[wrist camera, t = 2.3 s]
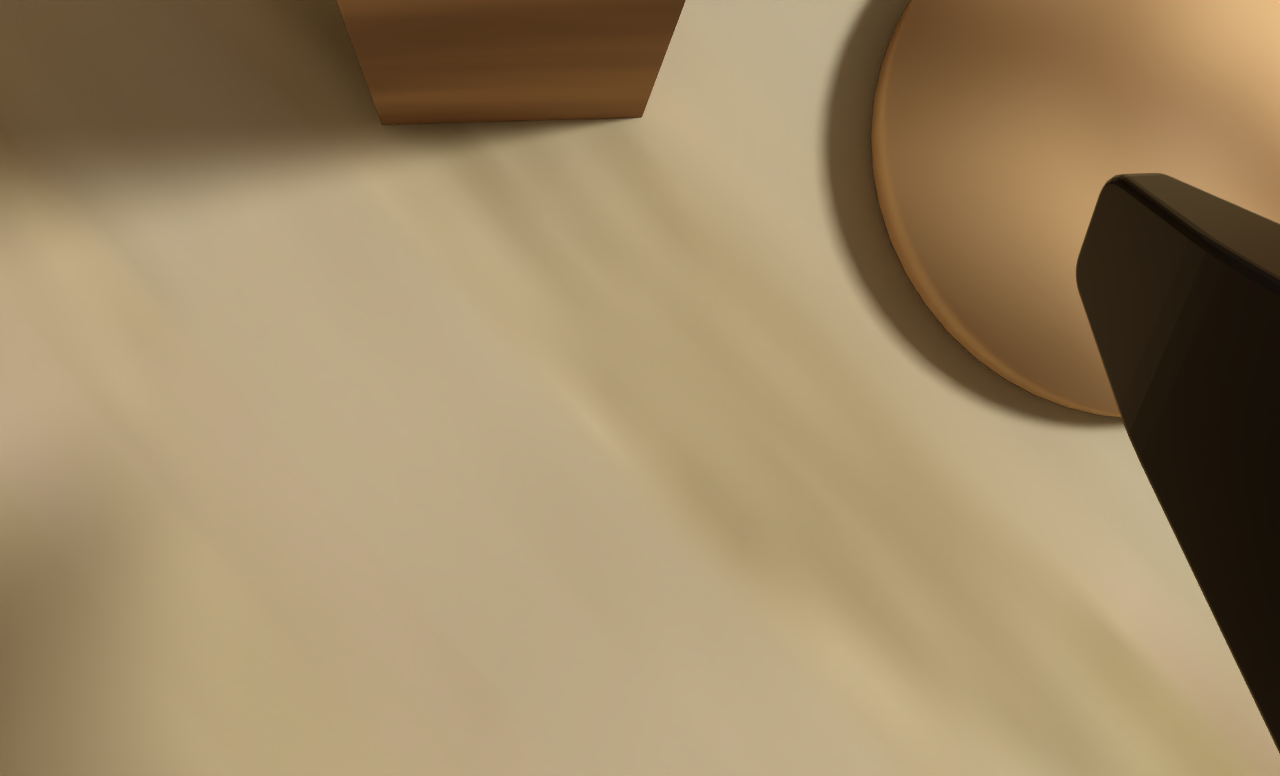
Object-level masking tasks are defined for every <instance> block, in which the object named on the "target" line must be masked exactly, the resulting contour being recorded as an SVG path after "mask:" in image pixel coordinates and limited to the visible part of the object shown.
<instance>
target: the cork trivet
mask: <svg viewBox="0 0 1280 776" xmlns="http://www.w3.org/2000/svg"><path fill="white" fill-rule="evenodd" d="M871 144H872V162H873V174H874V179H875V185H876V190H877V195H878V201H879V206H880V209H881V212H882V216H883V219H884V222H885V225H886V228H887V231H888V234H889V237H890V241H891V243H892V245H893V247H894V249H895V251H896V253H897V256H898V258H899V260H900V262H901V264H902V266H903V268H904V271H905V273H906V275H907V276H908V278H909V279H910V281H911V283H912V284H913V286H914V287H915V289H916V290H917V292H918V294H919V295H920V297H921V298H922V300H923V302H924V303H925V305H926V306H927V307H928V308H929V310H930V311H931V312H932V313H933V314H934V316H935V317H936V318H937V319H938V320H939V322H940V323H941V324H942V325H943V327H944V328H945V329H946V330H947V331H948V333H950V334H951V335H952V336H953V337H954V338H955V339H956V340H957V341H958V342H959V343H960V344H961V345H962V346H963V347H964V348H965V349H966V350H968V351H969V352H970V353H971V354H972V355H973V356H974V357H975V358H977V359H978V360H979V361H981V362H982V363H983V364H985V365H986V366H988V367H989V368H990V369H992V370H993V371H994V372H996V373H997V374H999V375H1000V376H1001V377H1003V378H1004V379H1006V380H1008V381H1010V382H1012V383H1014V384H1015V385H1017V386H1019V387H1021V388H1023V389H1025V390H1026V391H1028V392H1030V393H1032V394H1034V395H1036V396H1039V397H1041V398H1044V399H1047V400H1049V401H1052V402H1054V403H1057V404H1059V405H1062V406H1065V407H1068V408H1072V409H1076V410H1080V411H1084V412H1089V413H1093V414H1097V415H1103V416H1113V417H1121V415H1120V413H1119V410H1118V407H1117V404H1116V401H1115V398H1114V395H1113V392H1112V389H1111V386H1110V383H1109V380H1108V377H1107V374H1106V372H1105V369H1104V366H1103V363H1102V360H1101V357H1100V354H1099V351H1098V348H1097V345H1096V342H1095V339H1094V336H1093V333H1092V330H1091V327H1090V324H1089V321H1088V318H1087V315H1086V313H1085V310H1084V307H1083V304H1082V301H1081V298H1080V295H1079V292H1078V288H1077V283H1076V265H1077V259H1078V255H1079V253H1080V250H1081V247H1082V244H1083V241H1084V238H1085V235H1086V232H1087V229H1088V226H1089V223H1090V220H1091V217H1092V214H1093V211H1094V209H1095V206H1096V203H1097V200H1098V197H1099V194H1100V192H1101V190H1102V188H1103V186H1104V185H1105V183H1106V182H1107V181H1108V180H1109V179H1111V178H1112V177H1114V176H1115V175H1119V174H1135V173H1162V174H1166V175H1169V176H1171V177H1173V178H1175V179H1178V180H1180V181H1182V182H1185V183H1187V184H1189V185H1192V186H1194V187H1196V188H1198V189H1201V190H1203V191H1205V192H1208V193H1210V194H1212V195H1215V196H1217V197H1219V198H1221V199H1224V200H1226V201H1228V202H1231V203H1233V204H1235V205H1238V206H1240V207H1242V208H1244V209H1247V210H1249V211H1251V212H1254V213H1256V214H1258V215H1261V216H1263V217H1265V218H1267V219H1270V220H1272V221H1274V222H1277V223H1279V224H1280V0H910V2H909V3H908V5H907V7H906V8H905V10H904V12H903V14H902V16H901V18H900V20H899V22H898V24H897V26H896V28H895V30H894V32H893V34H892V36H891V39H890V42H889V45H888V48H887V50H886V53H885V56H884V59H883V62H882V65H881V68H880V73H879V77H878V82H877V87H876V92H875V97H874V103H873V116H872V130H871Z"/></svg>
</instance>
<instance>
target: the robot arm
mask: <svg viewBox="0 0 1280 776" xmlns="http://www.w3.org/2000/svg"><path fill="white" fill-rule="evenodd" d="M1076 283H1077V288H1078V292H1079V295H1080V298H1081V301H1082V304H1083V307H1084V310H1085V313H1086V315H1087V318H1088V321H1089V324H1090V327H1091V330H1092V333H1093V336H1094V339H1095V342H1096V345H1097V348H1098V351H1099V354H1100V357H1101V360H1102V363H1103V366H1104V369H1105V372H1106V374H1107V377H1108V380H1109V383H1110V386H1111V389H1112V392H1113V395H1114V398H1115V401H1116V404H1117V407H1118V410H1119V413H1120V415H1121V418H1122V420H1123V423H1124V426H1125V428H1126V431H1127V434H1128V436H1129V438H1130V441H1131V443H1132V445H1133V447H1134V450H1135V452H1136V454H1137V456H1138V459H1139V461H1140V463H1141V465H1142V467H1143V469H1144V471H1145V473H1146V476H1147V478H1148V480H1149V482H1150V484H1151V486H1152V488H1153V490H1154V492H1155V494H1156V496H1157V498H1158V501H1159V503H1160V505H1161V507H1162V509H1163V511H1164V513H1165V515H1166V517H1167V519H1168V521H1169V524H1170V526H1171V528H1172V530H1173V532H1174V534H1175V536H1176V538H1177V540H1178V542H1179V544H1180V547H1181V549H1182V551H1183V553H1184V555H1185V557H1186V559H1187V561H1188V563H1189V565H1190V567H1191V569H1192V572H1193V574H1194V576H1195V578H1196V580H1197V582H1198V584H1199V586H1200V588H1201V590H1202V592H1203V595H1204V597H1205V599H1206V601H1207V603H1208V605H1209V607H1210V609H1211V611H1212V613H1213V615H1214V617H1215V620H1216V622H1217V624H1218V626H1219V628H1220V630H1221V632H1222V634H1223V636H1224V638H1225V640H1226V643H1227V645H1228V647H1229V649H1230V651H1231V653H1232V655H1233V657H1234V659H1235V661H1236V663H1237V666H1238V668H1239V670H1240V672H1241V674H1242V676H1243V678H1244V680H1245V682H1246V684H1247V686H1248V688H1249V691H1250V693H1251V695H1252V697H1253V699H1254V701H1255V703H1256V705H1257V707H1258V709H1259V711H1260V714H1261V716H1262V718H1263V720H1264V722H1265V724H1266V726H1267V728H1268V730H1269V732H1270V734H1271V737H1272V739H1273V741H1274V743H1275V745H1276V747H1277V749H1278V751H1279V753H1280V224H1279V223H1277V222H1274V221H1272V220H1270V219H1267V218H1265V217H1263V216H1261V215H1258V214H1256V213H1254V212H1251V211H1249V210H1247V209H1244V208H1242V207H1240V206H1238V205H1235V204H1233V203H1231V202H1228V201H1226V200H1224V199H1221V198H1219V197H1217V196H1215V195H1212V194H1210V193H1208V192H1205V191H1203V190H1201V189H1198V188H1196V187H1194V186H1192V185H1189V184H1187V183H1185V182H1182V181H1180V180H1178V179H1175V178H1173V177H1171V176H1169V175H1166V174H1162V173H1135V174H1119V175H1115V176H1114V177H1112V178H1111V179H1109V180H1108V181H1107V182H1106V183H1105V185H1104V186H1103V188H1102V190H1101V192H1100V194H1099V197H1098V200H1097V203H1096V206H1095V209H1094V211H1093V214H1092V217H1091V220H1090V223H1089V226H1088V229H1087V232H1086V235H1085V238H1084V241H1083V244H1082V247H1081V250H1080V253H1079V255H1078V259H1077V265H1076Z"/></svg>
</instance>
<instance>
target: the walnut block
mask: <svg viewBox="0 0 1280 776" xmlns="http://www.w3.org/2000/svg"><path fill="white" fill-rule="evenodd" d="M336 1H337V4H338V7H339V10H340V12H341V15H342V18H343V20H344V23H345V26H346V29H347V31H348V34H349V37H350V39H351V42H352V45H353V47H354V50H355V53H356V56H357V58H358V61H359V64H360V66H361V69H362V72H363V74H364V77H365V80H366V83H367V85H368V88H369V91H370V93H371V96H372V99H373V102H374V104H375V107H376V110H377V112H378V115H379V118H380V120H381V123H382V125H389V124H423V123H457V122H491V121H525V120H559V119H593V118H627V117H642V115H643V113H644V110H645V107H646V105H647V102H648V99H649V97H650V94H651V91H652V89H653V86H654V83H655V81H656V78H657V75H658V73H659V70H660V67H661V65H662V62H663V59H664V57H665V54H666V51H667V49H668V46H669V43H670V40H671V38H672V35H673V32H674V30H675V27H676V24H677V22H678V19H679V16H680V14H681V11H682V8H683V6H684V3H685V0H336Z"/></svg>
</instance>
